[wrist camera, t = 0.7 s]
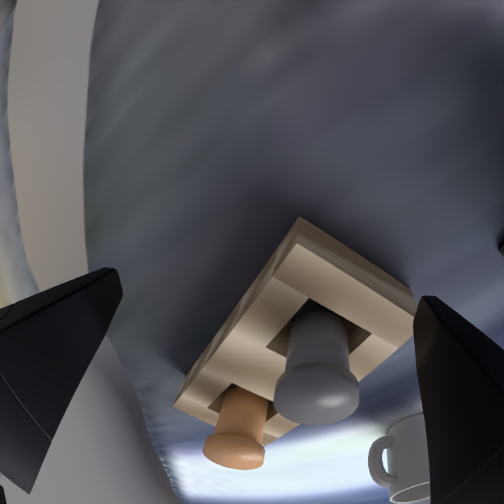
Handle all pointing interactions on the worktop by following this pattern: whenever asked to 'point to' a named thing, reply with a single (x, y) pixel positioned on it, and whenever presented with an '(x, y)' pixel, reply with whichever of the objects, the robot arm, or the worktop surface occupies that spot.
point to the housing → (278, 322)
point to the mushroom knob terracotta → (239, 431)
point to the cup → (403, 461)
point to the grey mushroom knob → (317, 372)
